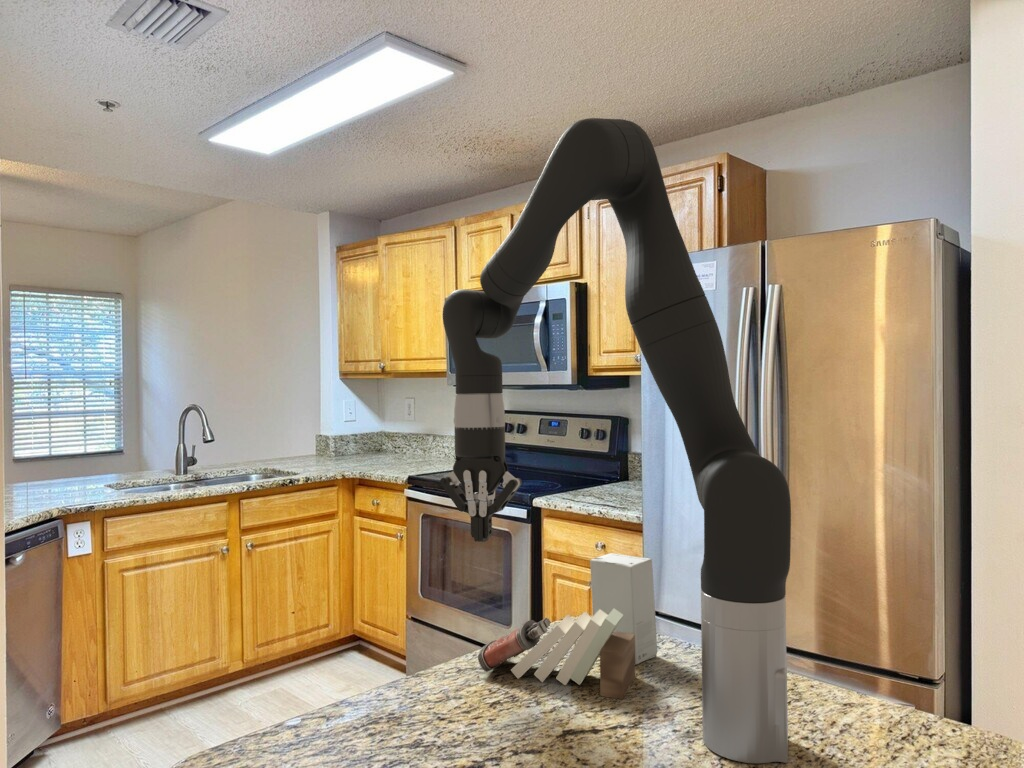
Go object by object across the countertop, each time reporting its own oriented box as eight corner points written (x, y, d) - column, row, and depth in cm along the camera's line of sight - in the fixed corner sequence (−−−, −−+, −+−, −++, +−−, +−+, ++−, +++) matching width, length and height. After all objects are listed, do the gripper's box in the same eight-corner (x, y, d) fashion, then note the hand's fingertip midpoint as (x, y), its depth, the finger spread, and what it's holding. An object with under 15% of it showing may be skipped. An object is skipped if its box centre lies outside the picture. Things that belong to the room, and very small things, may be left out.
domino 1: (530, 666, 104) (575, 623, 102) (518, 679, 100) (565, 634, 97) (523, 657, 105) (568, 614, 102) (510, 670, 100) (557, 624, 98)
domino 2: (553, 669, 103) (593, 619, 101) (542, 682, 98) (584, 630, 96) (545, 661, 104) (584, 611, 102) (533, 674, 99) (575, 621, 97)
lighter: (486, 676, 100) (544, 644, 98) (474, 654, 101) (532, 622, 99) (503, 658, 108) (557, 628, 106) (492, 638, 109) (546, 608, 107)
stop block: (635, 676, 100) (634, 634, 100) (622, 699, 93) (622, 653, 93) (614, 673, 101) (613, 631, 101) (600, 695, 94) (599, 650, 94)
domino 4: (570, 677, 97) (605, 618, 95) (580, 665, 102) (613, 608, 100) (579, 685, 97) (615, 625, 95) (589, 672, 101) (623, 614, 100)
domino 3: (575, 672, 102) (609, 615, 100) (565, 685, 97) (600, 626, 96) (566, 665, 102) (599, 609, 101) (555, 678, 98) (590, 619, 96)
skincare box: (658, 656, 108) (657, 558, 108) (634, 667, 104) (633, 565, 104) (614, 643, 114) (613, 550, 114) (590, 652, 110) (589, 556, 110)
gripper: (530, 423, 107) (531, 538, 106) (451, 423, 112) (452, 533, 111) (511, 425, 100) (513, 549, 99) (428, 425, 105) (429, 543, 104)
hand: (481, 540), depth 105 cm, fingers closed
